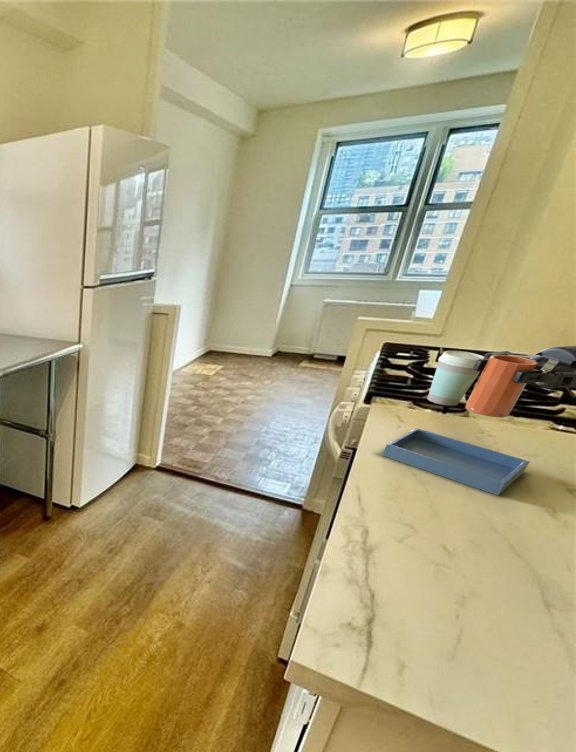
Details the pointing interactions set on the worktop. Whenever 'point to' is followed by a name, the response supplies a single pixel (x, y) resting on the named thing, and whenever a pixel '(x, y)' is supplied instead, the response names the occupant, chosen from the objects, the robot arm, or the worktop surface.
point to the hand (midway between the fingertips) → (496, 371)
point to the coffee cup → (453, 377)
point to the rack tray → (456, 460)
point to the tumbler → (498, 386)
